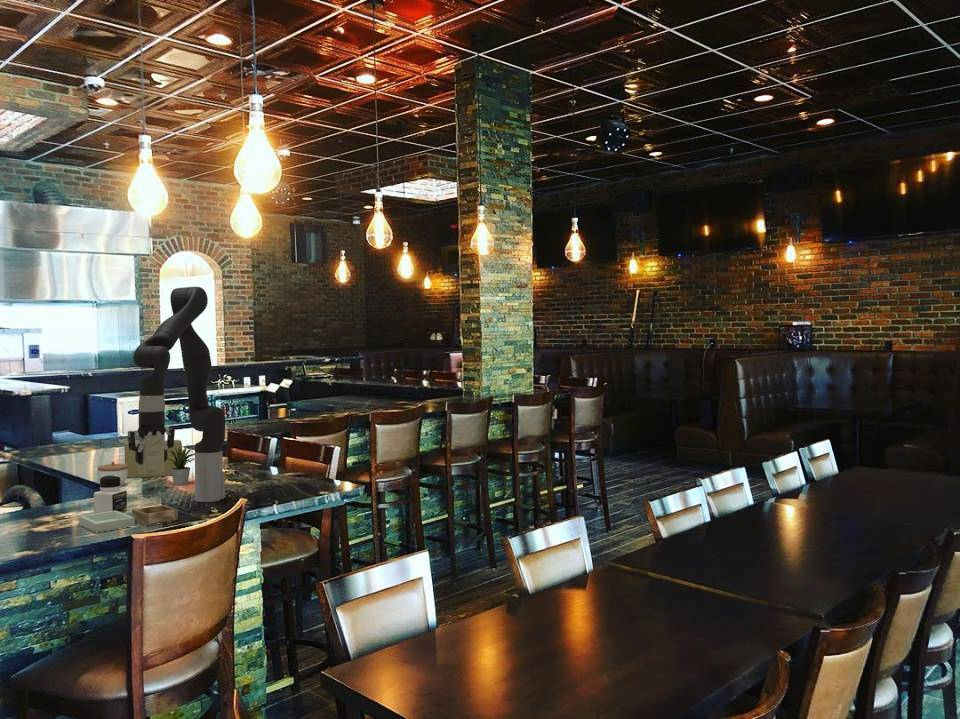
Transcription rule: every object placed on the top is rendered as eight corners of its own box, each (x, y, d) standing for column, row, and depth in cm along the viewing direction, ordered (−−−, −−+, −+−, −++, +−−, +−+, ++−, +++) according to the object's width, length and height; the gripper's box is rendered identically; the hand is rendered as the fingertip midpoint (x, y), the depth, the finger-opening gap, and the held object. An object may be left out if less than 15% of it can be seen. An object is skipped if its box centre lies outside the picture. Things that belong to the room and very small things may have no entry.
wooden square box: (163, 515, 247) (163, 504, 246) (177, 521, 240) (177, 509, 240) (132, 521, 239) (131, 509, 239) (145, 526, 232) (145, 514, 232)
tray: (116, 519, 242) (116, 510, 242) (134, 526, 232) (134, 517, 232) (78, 525, 234) (78, 516, 234) (96, 533, 224) (96, 523, 224)
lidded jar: (134, 484, 300) (134, 460, 299) (111, 489, 290) (110, 464, 290) (115, 482, 304) (114, 459, 304) (91, 487, 294) (91, 462, 294)
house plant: (185, 488, 292) (185, 446, 291) (153, 487, 294) (152, 444, 294) (206, 482, 306) (206, 441, 305) (175, 480, 308) (174, 440, 308)
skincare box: (146, 475, 236) (146, 436, 236) (138, 474, 238) (138, 435, 238) (164, 472, 241) (165, 434, 241) (156, 471, 244) (156, 433, 244)
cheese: (186, 473, 325) (186, 438, 324) (179, 478, 315) (179, 441, 315) (132, 474, 322) (132, 439, 322) (123, 478, 313) (123, 442, 312)
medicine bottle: (112, 515, 247) (112, 478, 247) (93, 514, 248) (93, 477, 248) (127, 510, 254) (127, 474, 254) (108, 509, 255) (107, 473, 255)
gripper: (169, 408, 247) (169, 459, 247) (123, 410, 237) (123, 463, 237) (179, 409, 242) (179, 462, 242) (132, 411, 232) (132, 466, 232)
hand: (151, 462), depth 240 cm, fingers closed on skincare box, 6 cm apart
